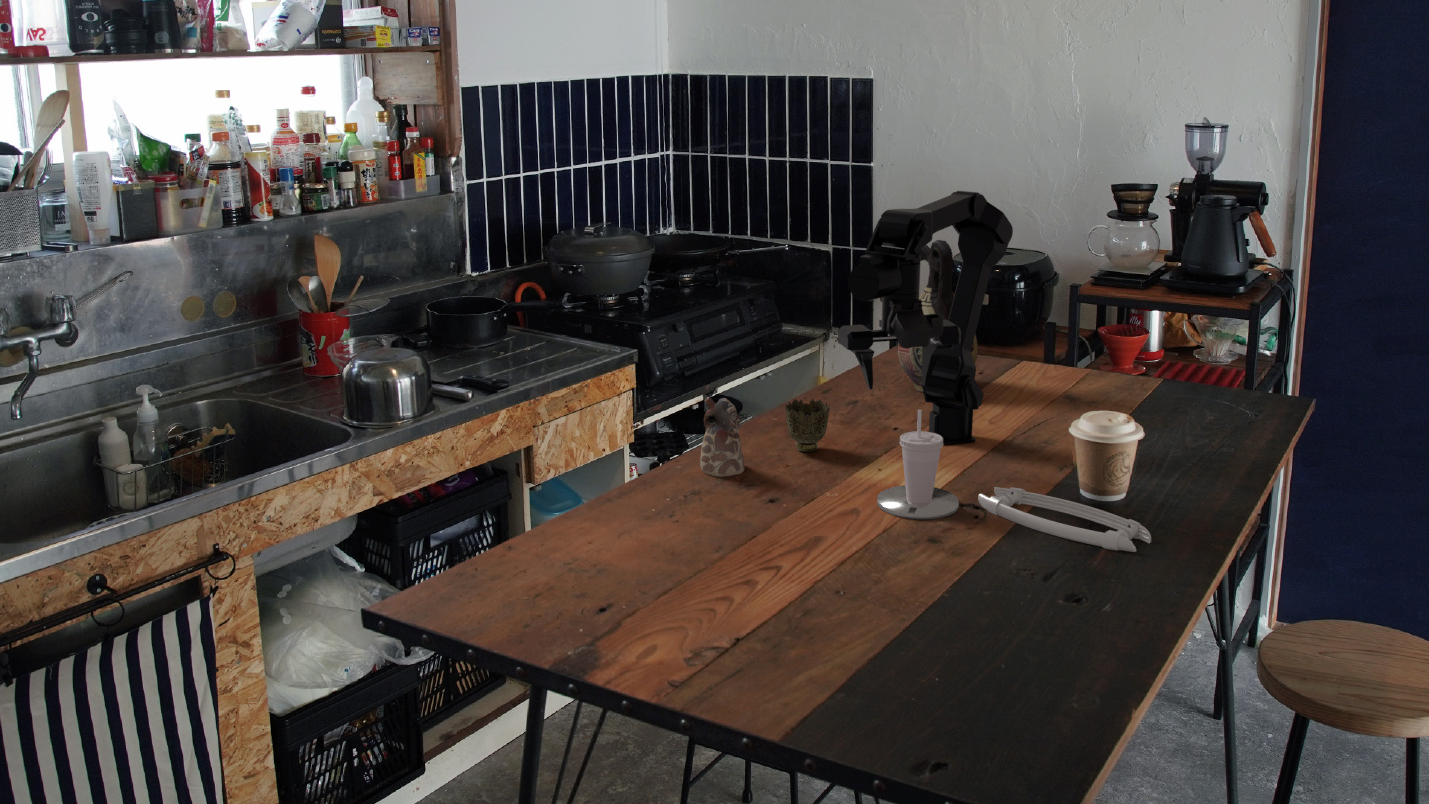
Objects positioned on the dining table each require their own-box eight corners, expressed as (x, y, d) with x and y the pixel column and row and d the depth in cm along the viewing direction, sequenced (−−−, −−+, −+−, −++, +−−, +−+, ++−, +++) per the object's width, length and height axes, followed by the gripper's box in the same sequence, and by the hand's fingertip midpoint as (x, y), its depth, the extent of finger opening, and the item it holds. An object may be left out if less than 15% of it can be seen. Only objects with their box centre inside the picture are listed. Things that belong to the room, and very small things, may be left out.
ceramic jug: (887, 379, 251) (892, 232, 242) (962, 376, 252) (969, 230, 244) (909, 403, 235) (915, 246, 226) (988, 400, 236) (997, 244, 227)
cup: (829, 443, 212) (830, 398, 210) (828, 457, 205) (829, 411, 203) (785, 442, 213) (786, 397, 211) (783, 456, 206) (784, 410, 204)
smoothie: (888, 496, 186) (891, 407, 182) (921, 488, 189) (925, 400, 185) (916, 510, 180) (920, 418, 176) (950, 501, 184) (954, 411, 180)
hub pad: (885, 486, 192) (885, 481, 192) (963, 494, 188) (964, 490, 188) (869, 514, 181) (869, 509, 181) (952, 523, 178) (952, 518, 177)
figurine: (735, 478, 196) (735, 406, 193) (693, 474, 198) (692, 402, 195) (750, 464, 202) (749, 394, 199) (709, 460, 205) (708, 390, 201)
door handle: (1004, 496, 189) (1159, 540, 172) (967, 513, 183) (1124, 560, 165) (1005, 479, 188) (1161, 522, 171) (968, 496, 182) (1126, 542, 165)
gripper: (860, 305, 185) (858, 405, 189) (977, 298, 188) (972, 396, 193) (837, 290, 195) (836, 385, 200) (949, 284, 199) (944, 378, 203)
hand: (897, 387), depth 199 cm, fingers open, 9 cm apart
